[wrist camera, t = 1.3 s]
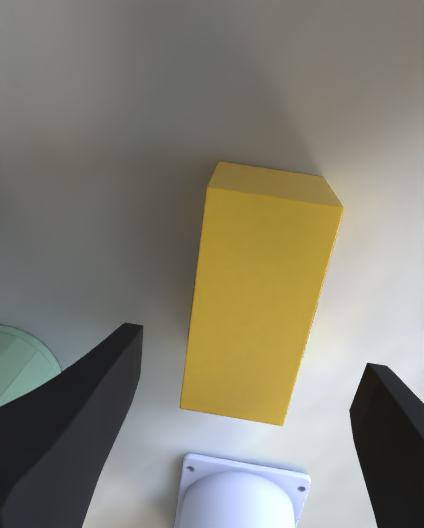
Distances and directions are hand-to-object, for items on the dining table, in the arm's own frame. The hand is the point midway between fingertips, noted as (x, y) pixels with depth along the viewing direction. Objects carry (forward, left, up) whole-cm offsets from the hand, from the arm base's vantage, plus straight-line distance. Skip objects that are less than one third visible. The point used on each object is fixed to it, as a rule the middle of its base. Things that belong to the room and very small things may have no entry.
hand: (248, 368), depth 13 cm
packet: (0, 0, -7) cm, 7 cm away
